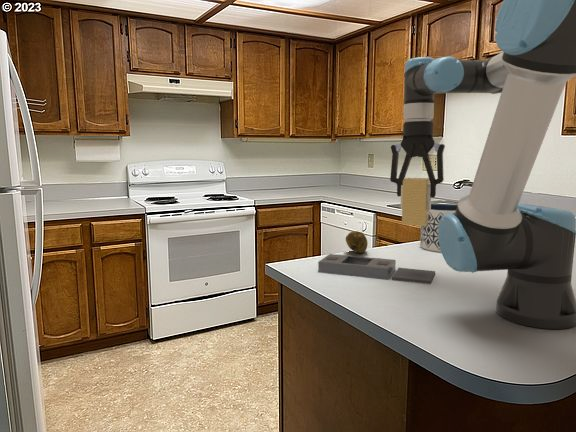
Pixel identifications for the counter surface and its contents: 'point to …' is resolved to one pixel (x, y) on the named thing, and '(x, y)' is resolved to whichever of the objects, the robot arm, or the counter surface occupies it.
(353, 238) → the potato
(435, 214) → the planter
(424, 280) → the pad
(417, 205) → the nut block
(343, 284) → the counter surface
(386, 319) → the counter surface
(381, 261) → the grey slotted block
